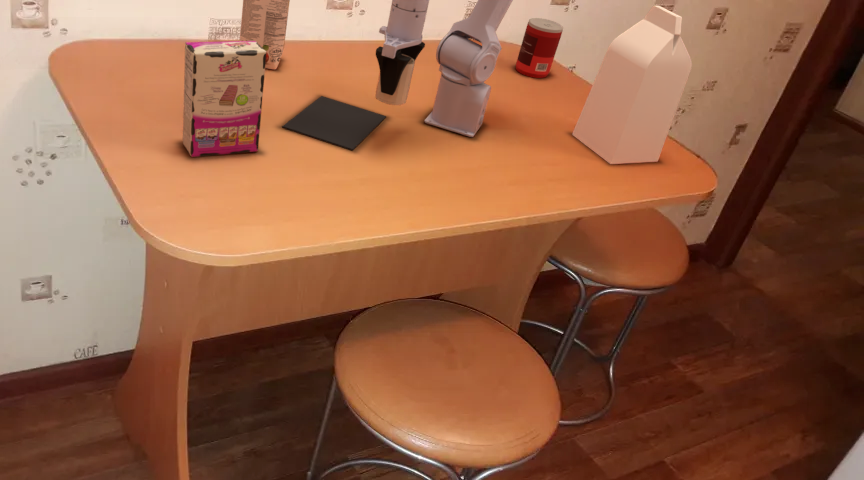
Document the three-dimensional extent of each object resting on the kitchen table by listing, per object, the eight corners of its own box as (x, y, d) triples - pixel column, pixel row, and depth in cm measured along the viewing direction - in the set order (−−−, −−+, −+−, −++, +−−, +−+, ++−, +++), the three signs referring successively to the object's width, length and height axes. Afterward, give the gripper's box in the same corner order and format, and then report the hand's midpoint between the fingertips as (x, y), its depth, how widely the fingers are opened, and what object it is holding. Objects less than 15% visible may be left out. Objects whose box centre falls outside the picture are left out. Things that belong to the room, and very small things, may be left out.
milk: (571, 134, 153) (619, -2, 138) (617, 133, 158) (669, 1, 143) (610, 164, 144) (665, 22, 130) (657, 161, 149) (716, 24, 134)
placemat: (385, 117, 145) (386, 116, 145) (352, 150, 131) (352, 149, 131) (321, 97, 148) (321, 95, 147) (282, 127, 134) (282, 126, 134)
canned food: (553, 73, 181) (568, 25, 175) (540, 81, 175) (556, 32, 169) (522, 62, 184) (536, 15, 177) (509, 70, 178) (523, 21, 171)
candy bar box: (247, 138, 129) (256, 39, 119) (258, 152, 125) (269, 51, 116) (179, 143, 124) (184, 39, 114) (189, 158, 120) (195, 53, 111)
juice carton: (280, 72, 154) (291, -29, 143) (236, 65, 154) (244, -37, 143) (283, 59, 160) (295, -39, 149) (241, 51, 160) (249, -47, 149)
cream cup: (410, 98, 135) (418, 58, 131) (400, 108, 131) (409, 67, 127) (381, 89, 136) (389, 50, 132) (370, 99, 132) (378, 58, 128)
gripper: (400, -10, 131) (384, 69, 139) (370, 9, 120) (355, 94, 127) (440, 1, 130) (422, 80, 138) (414, 21, 118) (396, 106, 126)
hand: (392, 87), depth 132 cm, fingers closed on cream cup, 5 cm apart
